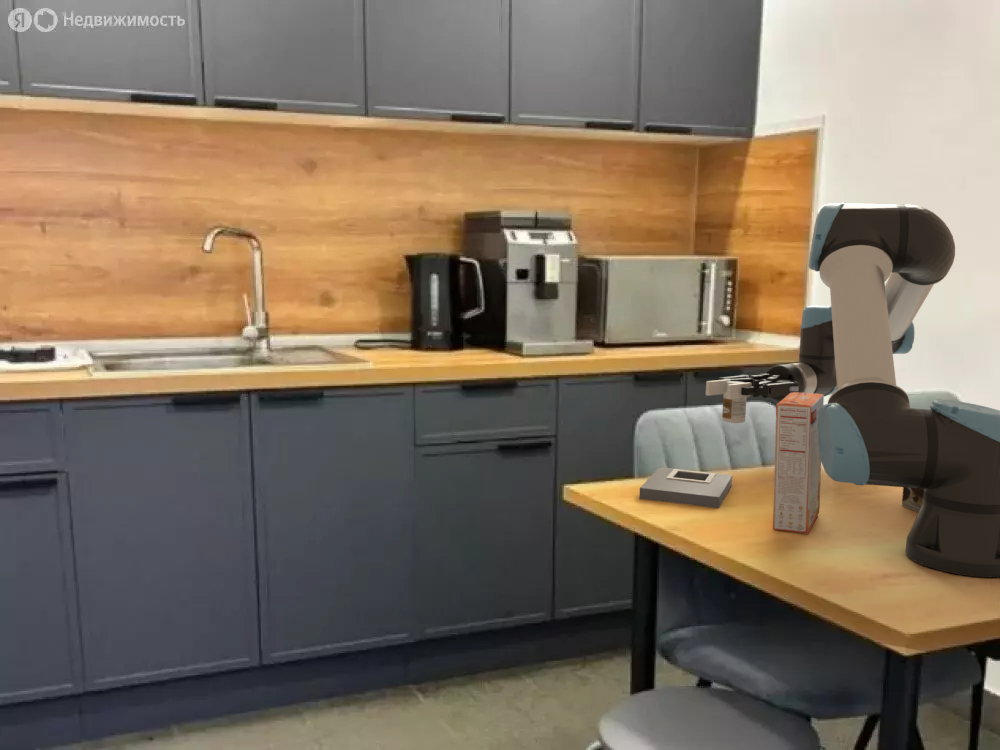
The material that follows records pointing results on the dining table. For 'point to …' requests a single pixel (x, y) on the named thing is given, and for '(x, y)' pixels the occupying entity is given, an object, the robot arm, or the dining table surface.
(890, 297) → the robot arm
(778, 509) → the cracker box
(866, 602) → the dining table surface
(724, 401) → the pill bottle
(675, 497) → the socket plate
